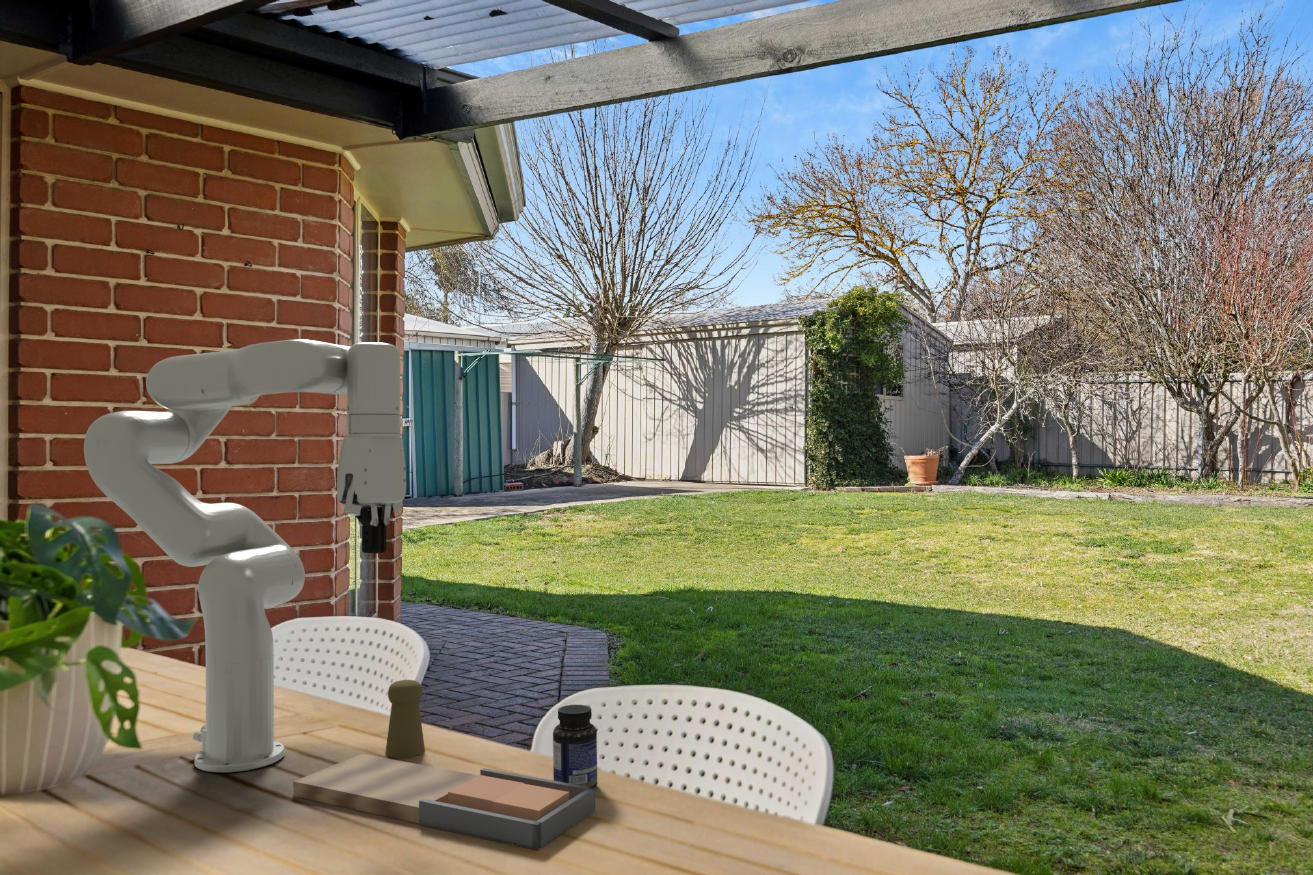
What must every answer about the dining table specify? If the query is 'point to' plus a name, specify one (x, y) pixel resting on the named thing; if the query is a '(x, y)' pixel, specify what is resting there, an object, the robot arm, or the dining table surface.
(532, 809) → the tile front
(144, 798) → the dining table surface
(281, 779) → the dining table surface
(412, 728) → the cork
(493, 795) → the tile rear
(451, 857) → the dining table surface
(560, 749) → the pill bottle
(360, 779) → the board
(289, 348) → the robot arm
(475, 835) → the tray
